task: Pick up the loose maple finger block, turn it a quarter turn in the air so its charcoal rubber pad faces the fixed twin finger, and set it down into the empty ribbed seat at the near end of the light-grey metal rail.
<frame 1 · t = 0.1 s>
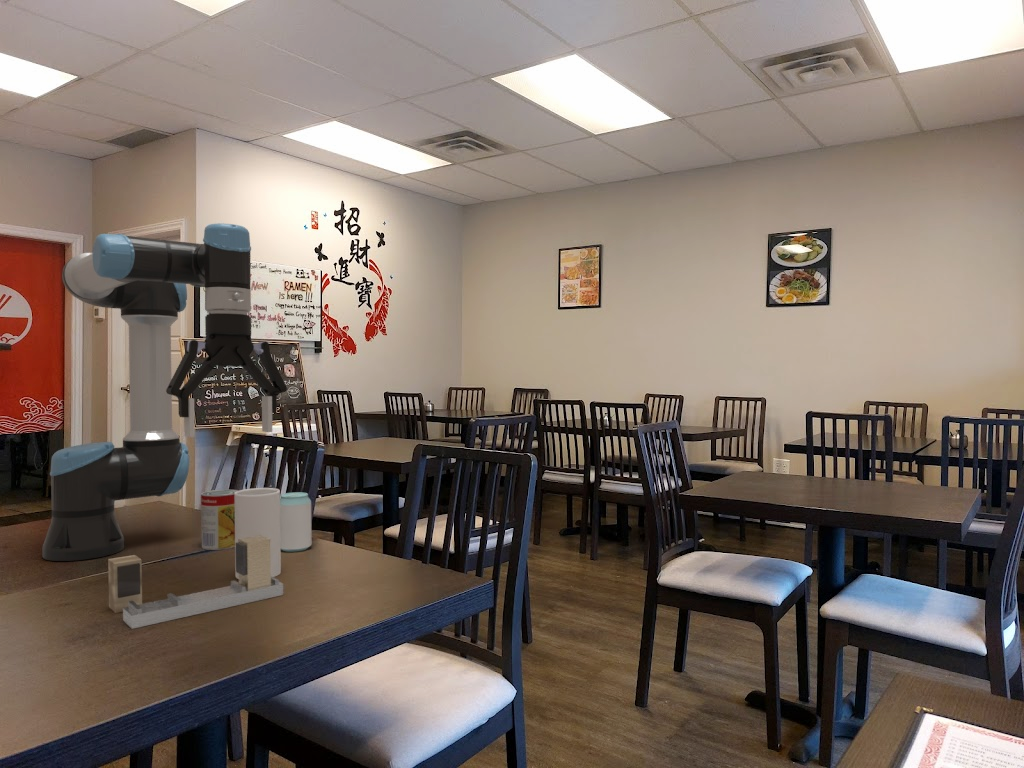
hand: (229, 434, 126), 28 cm above the table, fingers open, 13 cm apart
cup: (258, 575, 137), on the table
rail: (207, 607, 118), on the table
finger block: (129, 610, 117), on the table
canned food: (220, 546, 160), on the table
can: (294, 549, 157), on the table
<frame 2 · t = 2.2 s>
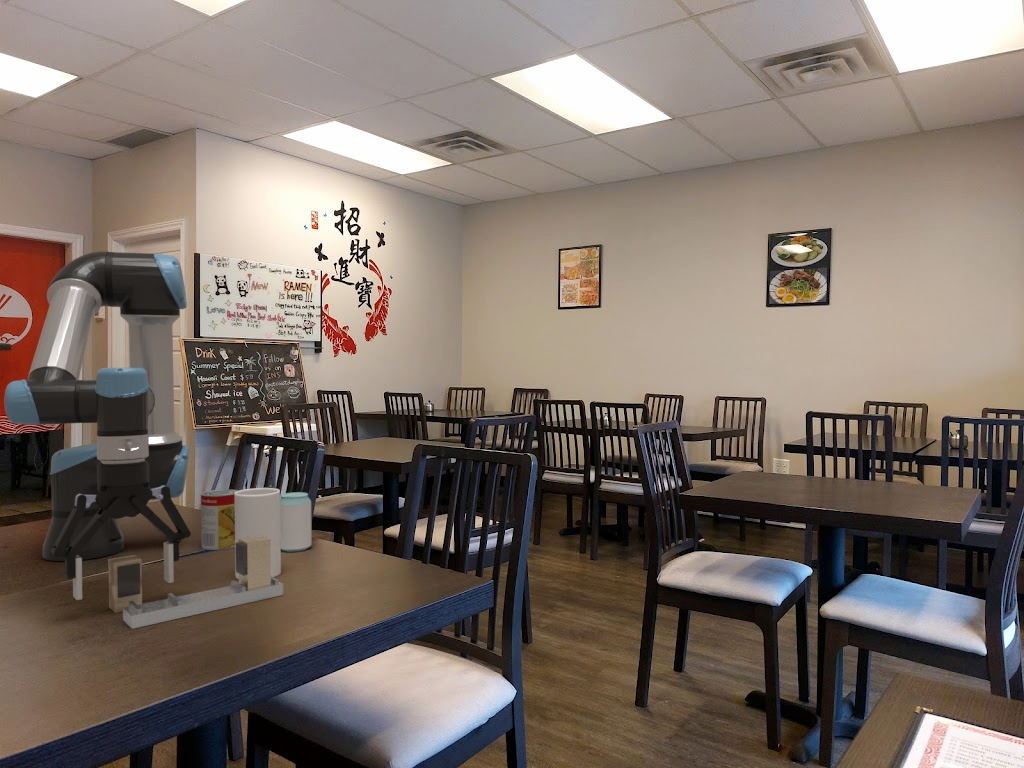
hand: (125, 589, 118), 3 cm above the table, fingers open, 13 cm apart
nothing on the table moved.
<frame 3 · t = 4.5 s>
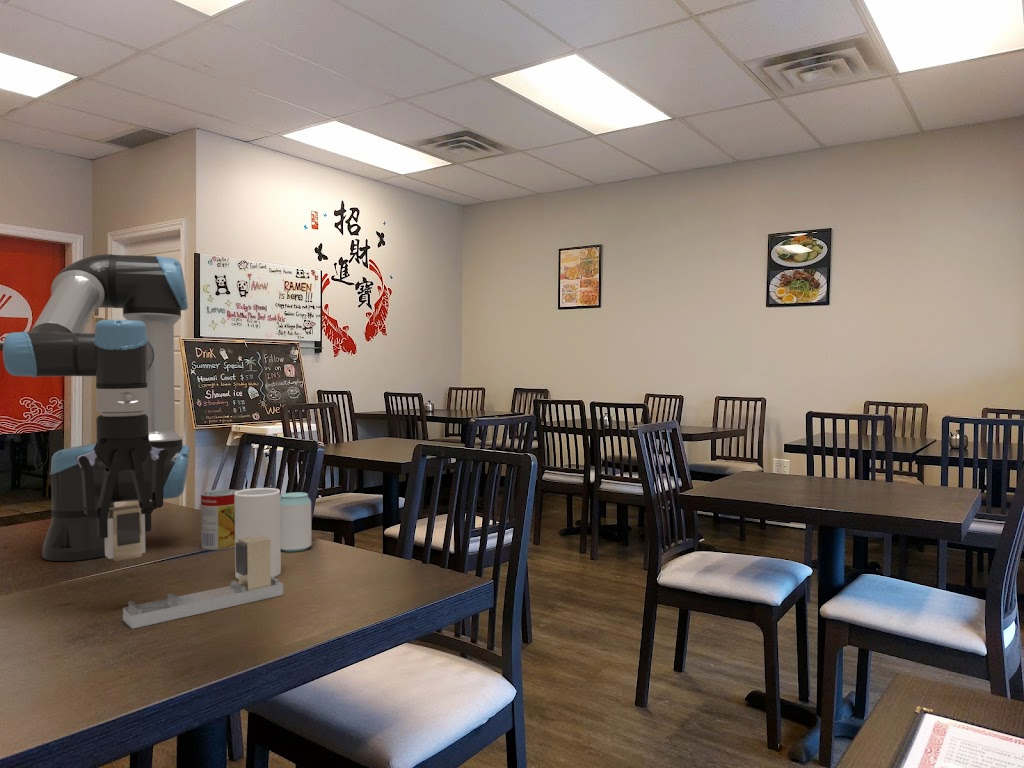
hand: (125, 553, 119), 9 cm above the table, fingers closed on finger block, 4 cm apart
finger block: (129, 559, 117), point 8 cm above the table, touching gripper
everything else where it was.
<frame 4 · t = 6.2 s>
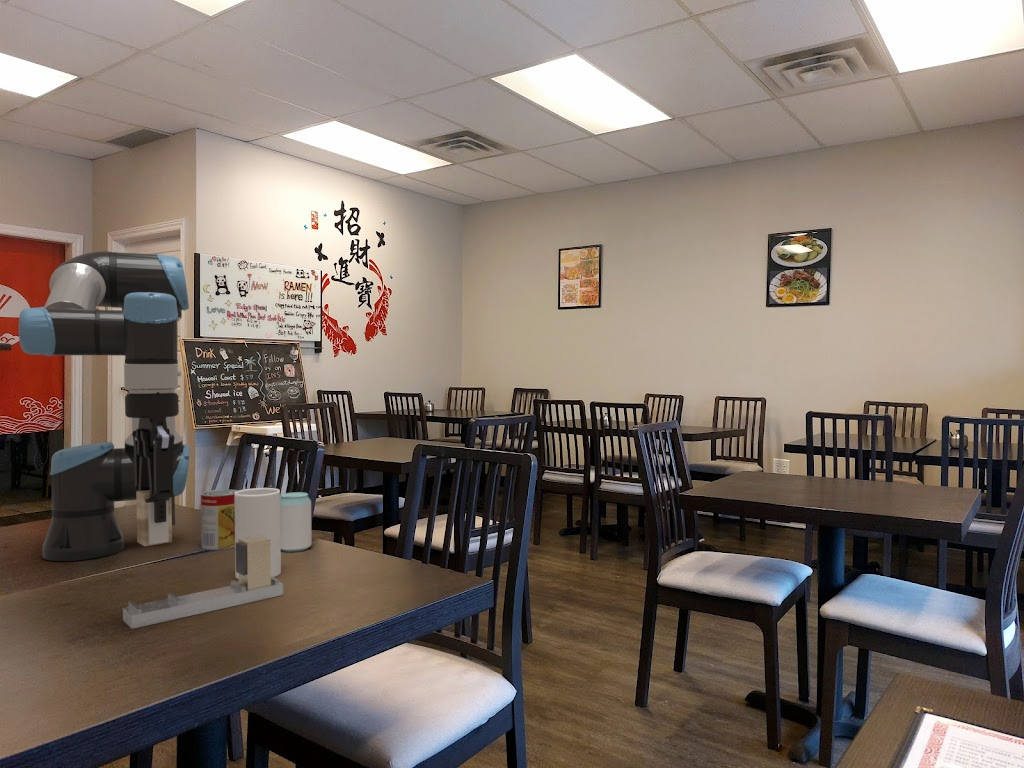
hand: (154, 539, 112), 12 cm above the table, fingers closed on finger block, 4 cm apart
finger block: (170, 539, 114), point 12 cm above the table, touching gripper
everything else where it was.
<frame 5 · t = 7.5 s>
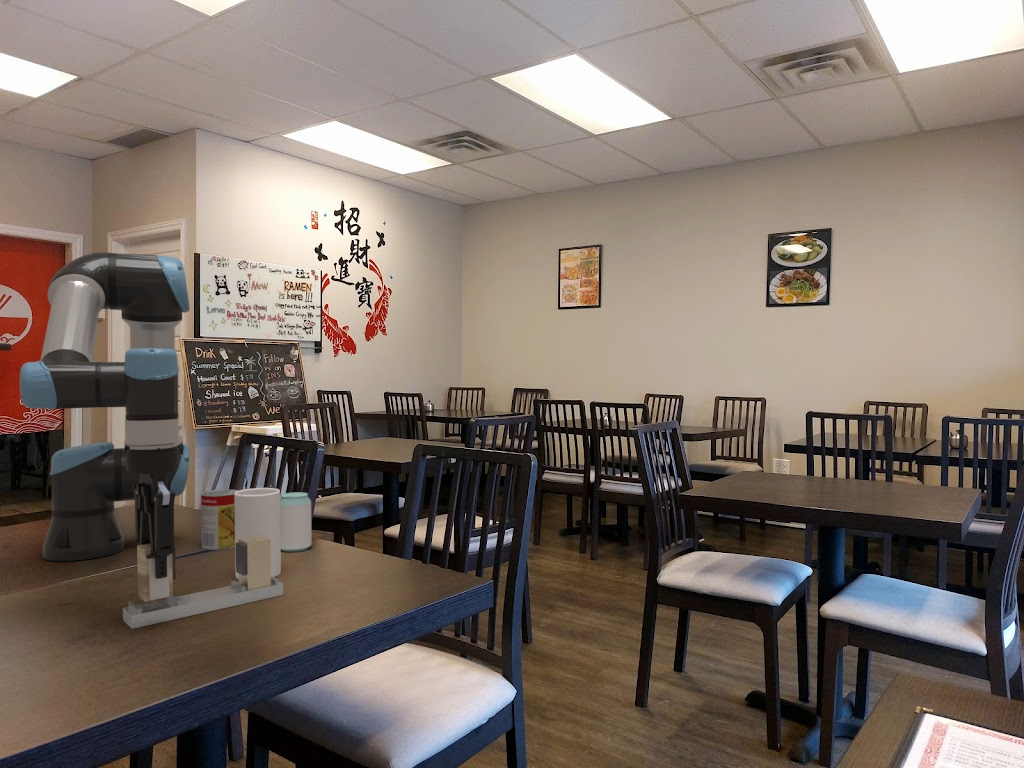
hand: (154, 594, 113), 4 cm above the table, fingers closed on finger block, 4 cm apart
finger block: (170, 593, 114), point 4 cm above the table, touching gripper
everything else where it was.
when the fingers open (3 cm above the table, at t = 8.4 s): finger block stays where it is, resting on rail.
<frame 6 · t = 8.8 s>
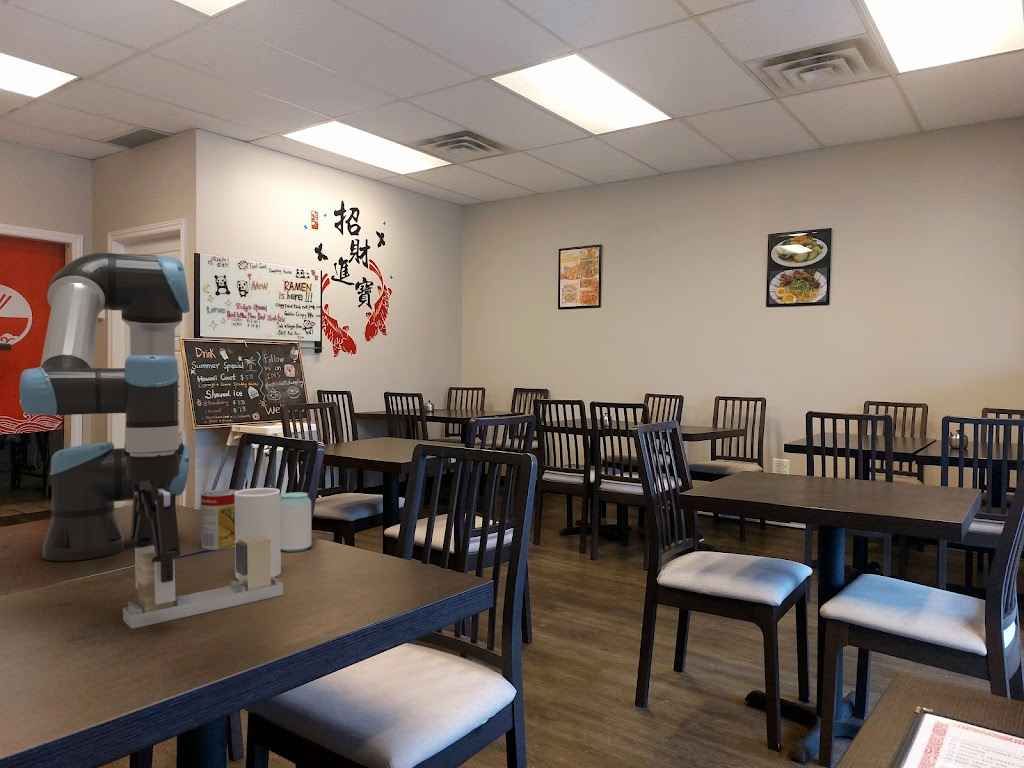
hand: (154, 594, 113), 4 cm above the table, fingers open, 10 cm apart
finger block: (170, 602, 114), point 2 cm above the table, touching rail
everything else where it was.
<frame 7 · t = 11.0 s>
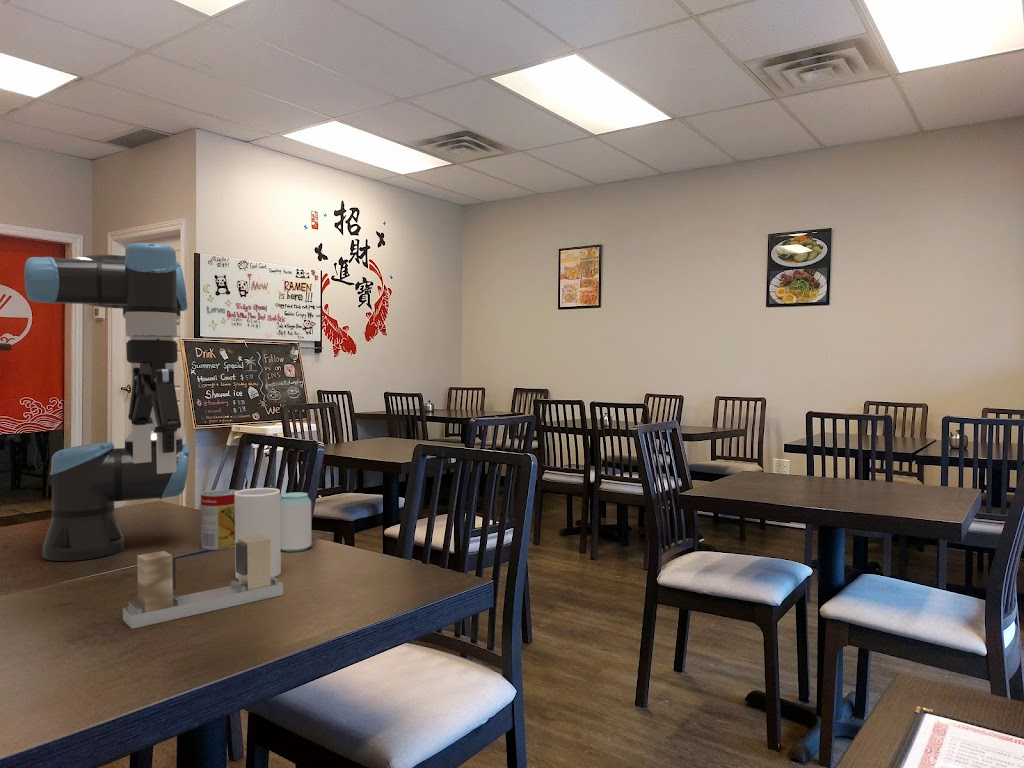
hand: (154, 467, 118), 23 cm above the table, fingers open, 13 cm apart
nothing on the table moved.
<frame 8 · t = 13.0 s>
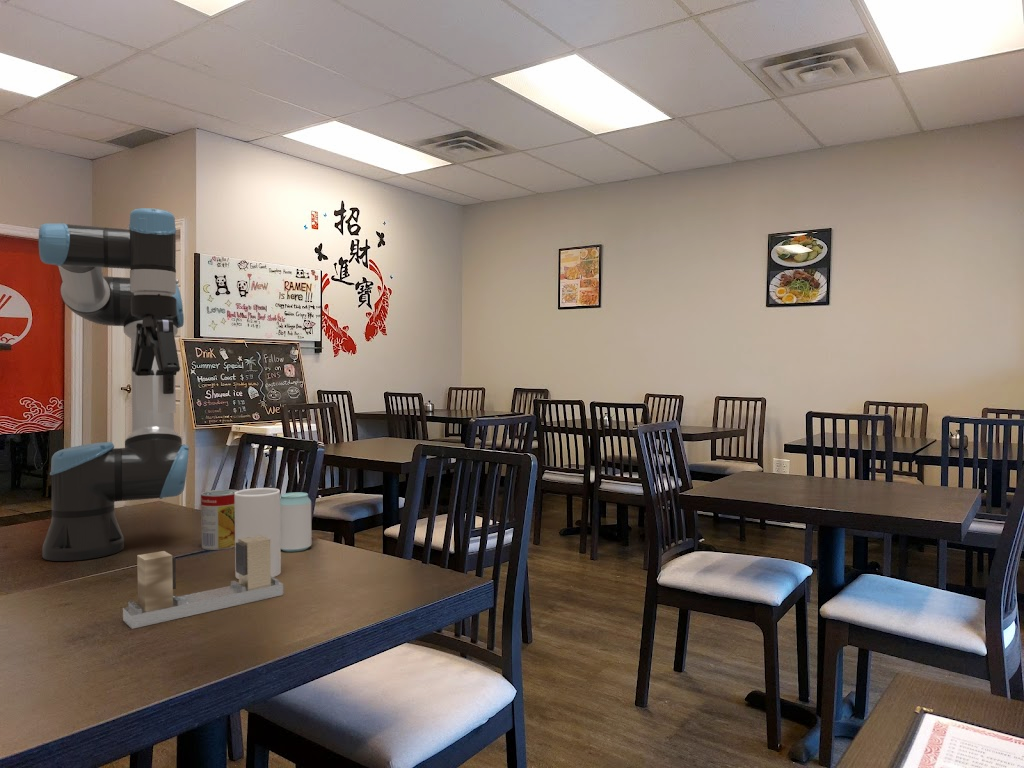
hand: (155, 411, 131), 32 cm above the table, fingers open, 13 cm apart
nothing on the table moved.
at the end: finger block 0.1 cm from the target spot on the rail, point 2.0 cm above the rail's base; finger block tilted 0°; the gripper is holding nothing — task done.
